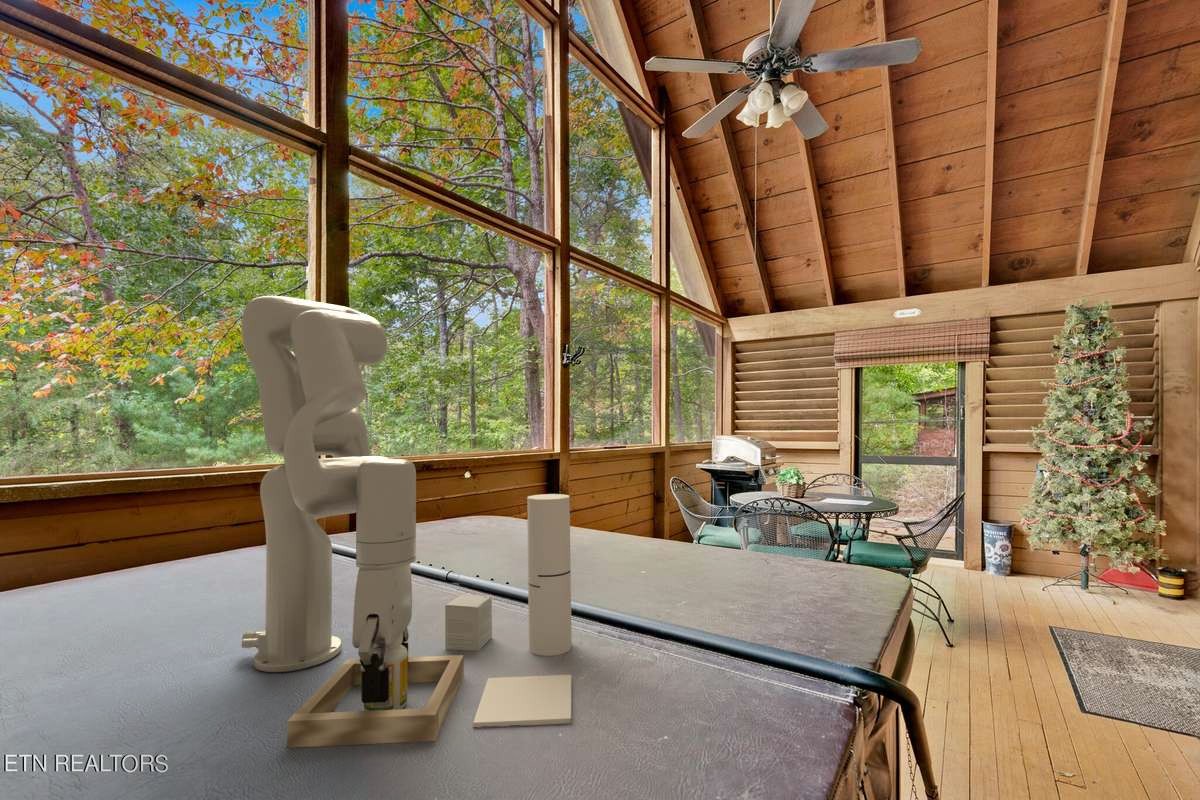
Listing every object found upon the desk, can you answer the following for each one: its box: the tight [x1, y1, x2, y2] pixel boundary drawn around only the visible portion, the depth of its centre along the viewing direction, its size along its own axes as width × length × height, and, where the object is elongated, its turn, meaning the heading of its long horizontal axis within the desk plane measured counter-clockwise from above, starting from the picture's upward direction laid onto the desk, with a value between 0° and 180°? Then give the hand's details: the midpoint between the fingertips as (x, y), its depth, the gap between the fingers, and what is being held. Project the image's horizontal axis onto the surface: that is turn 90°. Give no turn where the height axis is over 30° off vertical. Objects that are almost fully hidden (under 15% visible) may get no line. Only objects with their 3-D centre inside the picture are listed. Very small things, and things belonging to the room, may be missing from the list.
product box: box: [444, 594, 493, 652], centre depth 94 cm, size 6×6×7 cm
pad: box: [472, 674, 572, 728], centre depth 73 cm, size 12×12×1 cm
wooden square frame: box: [286, 654, 465, 749], centre depth 72 cm, size 17×17×3 cm
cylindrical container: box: [526, 493, 573, 657], centre depth 92 cm, size 7×7×25 cm
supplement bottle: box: [363, 633, 409, 711], centre depth 73 cm, size 5×5×10 cm
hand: (386, 685), depth 73 cm, fingers open, 7 cm apart
